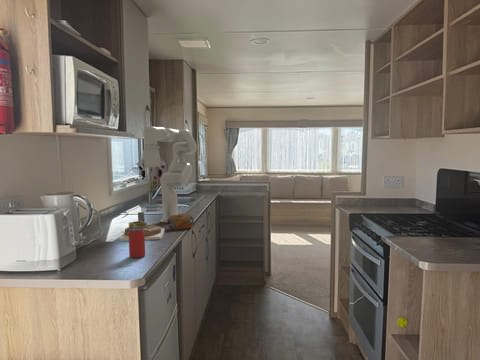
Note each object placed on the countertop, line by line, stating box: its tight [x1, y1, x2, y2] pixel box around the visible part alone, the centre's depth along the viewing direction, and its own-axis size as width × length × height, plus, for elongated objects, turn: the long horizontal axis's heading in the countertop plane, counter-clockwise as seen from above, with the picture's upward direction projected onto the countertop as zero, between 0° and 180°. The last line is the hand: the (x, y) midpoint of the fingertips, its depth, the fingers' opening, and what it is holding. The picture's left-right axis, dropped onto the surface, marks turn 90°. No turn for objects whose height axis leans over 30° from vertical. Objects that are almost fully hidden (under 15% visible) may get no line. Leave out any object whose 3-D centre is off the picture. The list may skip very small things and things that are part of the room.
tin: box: [167, 213, 194, 230], centre depth 209 cm, size 15×3×8 cm, turn 105°
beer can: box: [128, 228, 146, 259], centre depth 153 cm, size 7×7×12 cm
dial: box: [124, 220, 162, 236], centre depth 192 cm, size 19×19×4 cm
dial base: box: [118, 227, 166, 242], centre depth 192 cm, size 21×21×2 cm
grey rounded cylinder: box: [137, 211, 146, 222], centre depth 208 cm, size 4×4×10 cm
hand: (152, 177), depth 209 cm, fingers open, 9 cm apart
